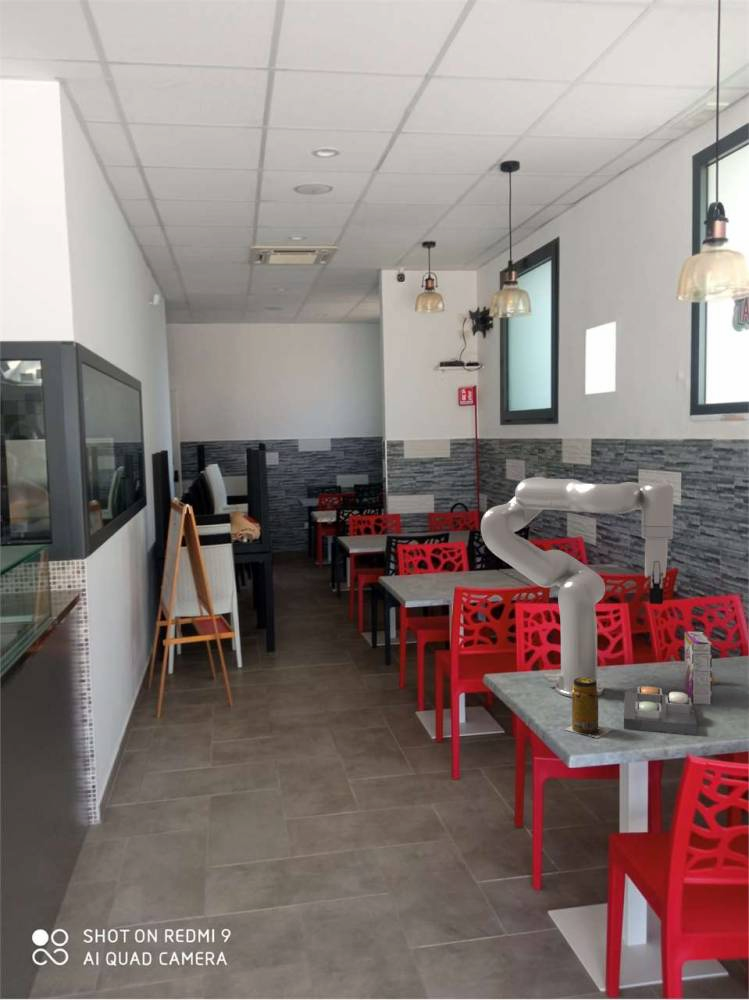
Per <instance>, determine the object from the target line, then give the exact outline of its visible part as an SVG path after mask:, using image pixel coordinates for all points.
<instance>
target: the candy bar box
mask: <svg viewBox="0 0 749 1000" xmlns="http://www.w3.org/2000/svg"><path fill="white" fill-rule="evenodd" d="M712 645H713V644H712V642H711V641H710V639H709V638H708V637H707V636H706V633H704V631H703V632H702V631H684V691H685V694H687V695H688V696H690V697H691V699H692V704H693V705H702V706H712V701H713V700H712V697H713V695H712V688H713V685H712V671H713V670H712V668H713V667H712V666H713V664H712V663H713V662H712V660H713V658H712V655H713V654H712V652H713V651H712Z"/></svg>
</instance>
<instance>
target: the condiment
mask: <svg viewBox="0 0 749 1000" xmlns="http://www.w3.org/2000/svg"><path fill="white" fill-rule="evenodd" d="M597 683H598V682H597ZM597 683H596V680H595V679H592V678H588V677H578V678H576V679H574V686H573V687H574V689H573V691H572V697H571V724H572V725H570V726H569V727H566V728H564V730H565V731H567V732H568V731H569V732H570V733H575V734H578V735H579V734H580V735H585V736H587V737H590V738H591V737H593V738H597V739H598V738H600V737H602V736H604V735H607V734H608V733H609V732H610V731H612V730H613V729H612V728H608V727H604V726H601V725H599V696H598V692H597V686H596V684H597ZM598 728H599V729H600V730H601V731H600V730H598ZM589 734H590V735H589Z"/></svg>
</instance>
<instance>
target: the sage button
mask: <svg viewBox="0 0 749 1000" xmlns="http://www.w3.org/2000/svg"><path fill="white" fill-rule="evenodd" d="M639 709H644V710H656V711H658V705H657V704H656V703H653V702H640V703H639Z"/></svg>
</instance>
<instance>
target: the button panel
mask: <svg viewBox="0 0 749 1000" xmlns="http://www.w3.org/2000/svg"><path fill="white" fill-rule="evenodd" d="M641 687H642V686H638V685H637V691H624V706H623V729H624V730H625V729H627V730H635V731H645V730H649V731H648V732H656V731H662V732H661V733H667V732H671V733H670V734H677V733H683V734H682V735H688V734H693V735H692V736H697V733H698V732H697V731H698V724H697V720H696V714H695V710H694V704H692V699H691V697H690V696H688V704H687V705H686V704H673V703H669V694H664V693H663V690H662V689H663V688H662V687H657V688H658V694H647V693H641ZM640 702H653V703H656V704H657V705H658V711H656V710H644V709H639V703H640Z"/></svg>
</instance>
